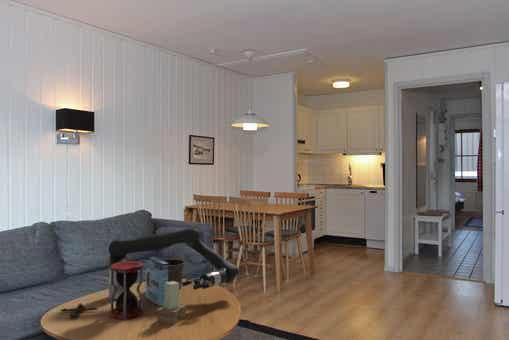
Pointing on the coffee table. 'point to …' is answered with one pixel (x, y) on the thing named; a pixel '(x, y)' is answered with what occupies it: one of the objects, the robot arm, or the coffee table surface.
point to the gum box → (156, 280)
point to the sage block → (171, 295)
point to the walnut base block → (171, 314)
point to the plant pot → (175, 270)
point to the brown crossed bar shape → (78, 310)
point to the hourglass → (126, 290)
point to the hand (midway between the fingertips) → (188, 286)
